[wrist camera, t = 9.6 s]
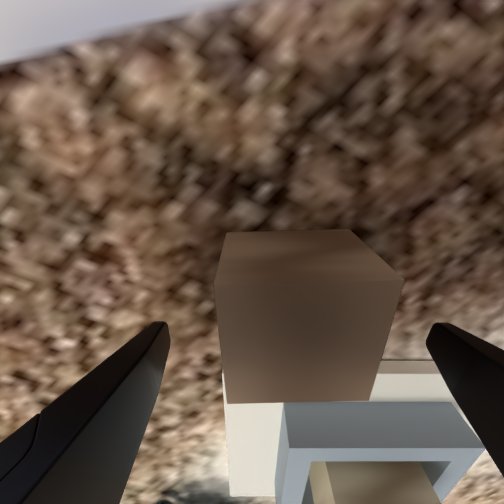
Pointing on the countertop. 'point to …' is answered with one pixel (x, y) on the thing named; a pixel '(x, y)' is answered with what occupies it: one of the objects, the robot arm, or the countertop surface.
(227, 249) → the walnut block
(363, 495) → the maple cube
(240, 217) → the countertop surface
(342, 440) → the board
